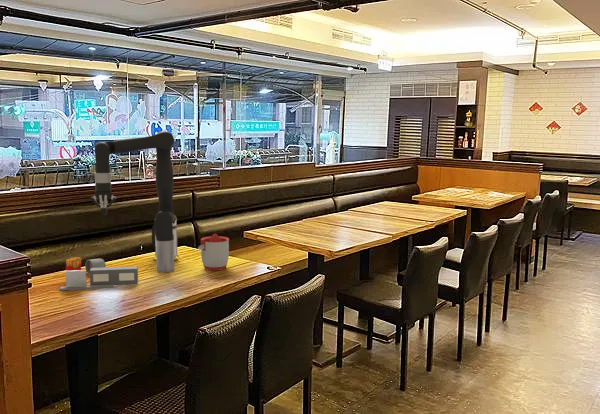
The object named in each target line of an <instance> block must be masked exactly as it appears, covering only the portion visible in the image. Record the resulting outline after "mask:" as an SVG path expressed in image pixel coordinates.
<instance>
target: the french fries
mask: <svg viewBox="0 0 600 414" xmlns="http://www.w3.org/2000/svg"><path fill="white" fill-rule="evenodd" d="M65 262H66V265H65V271H72V270H82V257H79V256H75V257H70V258H66V260H65Z"/></svg>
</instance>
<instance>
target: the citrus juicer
mask: <svg viewBox="0 0 600 414" xmlns="http://www.w3.org/2000/svg"><path fill="white" fill-rule="evenodd" d="M229 243H230V238H229V237H227V236H220V235H218V234H217V233H212V235H210V236H209V235H208V236H203V237H202V238H200V245H199V246H198V247H197V249H198V251H200V252H201V253H200V256H201V262H202V265H203V268H204V270H206V271H210V270H211V271H210V272H216V270H218V271H223V270H222V269H224V270H225V269H226V268H227V266H228V262H229V255H230V252H229V251H230V244H229Z"/></svg>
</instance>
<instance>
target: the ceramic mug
mask: <svg viewBox="0 0 600 414" xmlns="http://www.w3.org/2000/svg"><path fill="white" fill-rule="evenodd" d="M106 265H107V264H106V262H105V260H104V259H103V258H92V259H87V260H86V261H85V264H84V267H85V270H86V274H88V275H90V269H91V268H104V267H106Z"/></svg>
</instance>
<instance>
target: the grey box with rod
mask: <svg viewBox="0 0 600 414" xmlns="http://www.w3.org/2000/svg"><path fill="white" fill-rule="evenodd" d="M138 284H139V266H138V265H137V266H135V265H133V266H112V267H110V266H108V267H104V268H91V269H90V274H89V285H87V286H80V287H66V286H60V287H59V292H60V291H61V292H62V291H78V290H79V291H80V290H84V291H85V290H102V289H114V286H132V285H134V286H136V285H138Z"/></svg>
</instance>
